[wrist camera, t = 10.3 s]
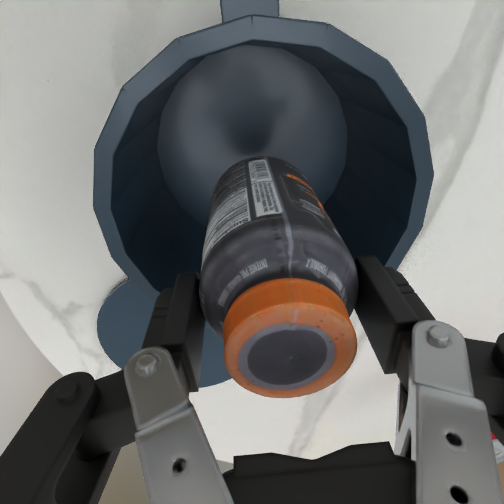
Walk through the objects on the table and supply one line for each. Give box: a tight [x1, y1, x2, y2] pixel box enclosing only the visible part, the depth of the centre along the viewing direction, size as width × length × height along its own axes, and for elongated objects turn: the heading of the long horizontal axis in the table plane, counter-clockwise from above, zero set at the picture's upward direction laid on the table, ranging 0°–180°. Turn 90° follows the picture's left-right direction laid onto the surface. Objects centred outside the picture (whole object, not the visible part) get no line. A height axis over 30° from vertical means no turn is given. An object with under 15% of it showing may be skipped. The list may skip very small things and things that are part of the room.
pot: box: [93, 0, 434, 329], centre depth 23 cm, size 18×23×12 cm
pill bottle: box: [199, 156, 359, 398], centre depth 14 cm, size 6×6×11 cm
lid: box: [97, 279, 232, 388], centre depth 36 cm, size 19×19×7 cm
